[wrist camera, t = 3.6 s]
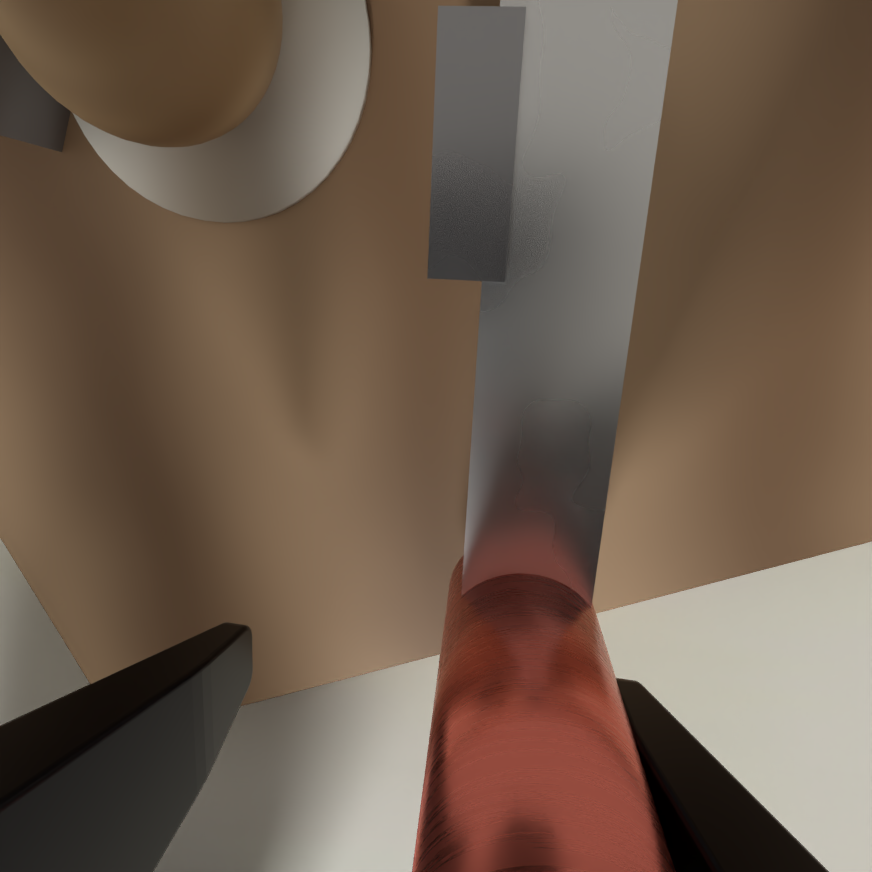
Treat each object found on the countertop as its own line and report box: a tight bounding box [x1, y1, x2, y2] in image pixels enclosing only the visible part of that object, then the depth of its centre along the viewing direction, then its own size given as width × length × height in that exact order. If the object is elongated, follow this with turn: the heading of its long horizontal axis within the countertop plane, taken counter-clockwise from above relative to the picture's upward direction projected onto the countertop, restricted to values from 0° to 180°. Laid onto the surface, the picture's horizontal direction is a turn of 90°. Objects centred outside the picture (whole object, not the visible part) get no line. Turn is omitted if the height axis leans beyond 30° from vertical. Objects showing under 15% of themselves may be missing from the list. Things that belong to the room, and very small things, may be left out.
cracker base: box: [0, 0, 872, 706], centre depth 9 cm, size 20×17×4 cm
